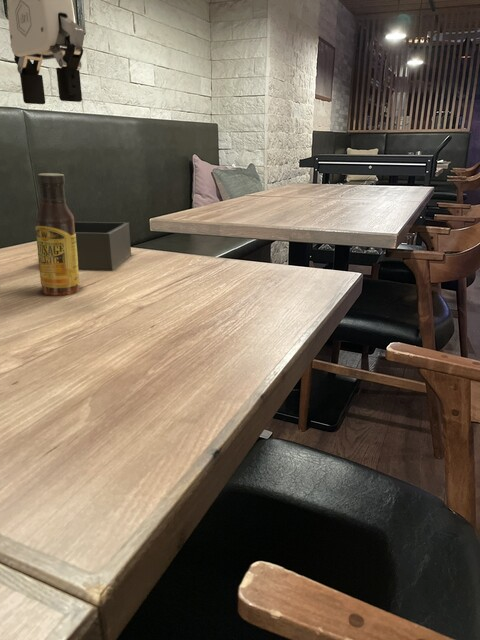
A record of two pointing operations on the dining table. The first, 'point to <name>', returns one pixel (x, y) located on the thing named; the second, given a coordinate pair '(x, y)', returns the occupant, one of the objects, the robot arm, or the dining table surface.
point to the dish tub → (102, 245)
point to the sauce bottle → (56, 238)
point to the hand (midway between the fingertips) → (52, 102)
